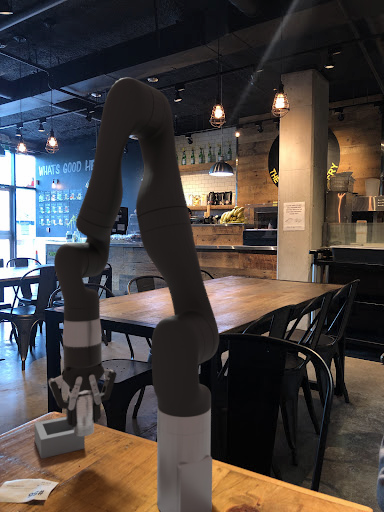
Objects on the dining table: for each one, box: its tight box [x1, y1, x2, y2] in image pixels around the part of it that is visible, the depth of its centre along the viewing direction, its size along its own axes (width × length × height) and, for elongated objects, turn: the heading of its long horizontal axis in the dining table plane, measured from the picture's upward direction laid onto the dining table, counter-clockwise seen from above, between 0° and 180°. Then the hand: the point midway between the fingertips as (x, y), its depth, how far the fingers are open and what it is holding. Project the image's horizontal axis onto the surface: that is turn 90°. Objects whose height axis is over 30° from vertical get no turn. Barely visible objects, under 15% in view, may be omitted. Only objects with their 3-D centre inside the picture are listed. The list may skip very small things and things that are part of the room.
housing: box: [33, 416, 86, 460], centre depth 94 cm, size 9×9×4 cm
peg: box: [74, 390, 95, 437], centre depth 87 cm, size 4×4×8 cm
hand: (84, 423), depth 87 cm, fingers closed on peg, 4 cm apart
